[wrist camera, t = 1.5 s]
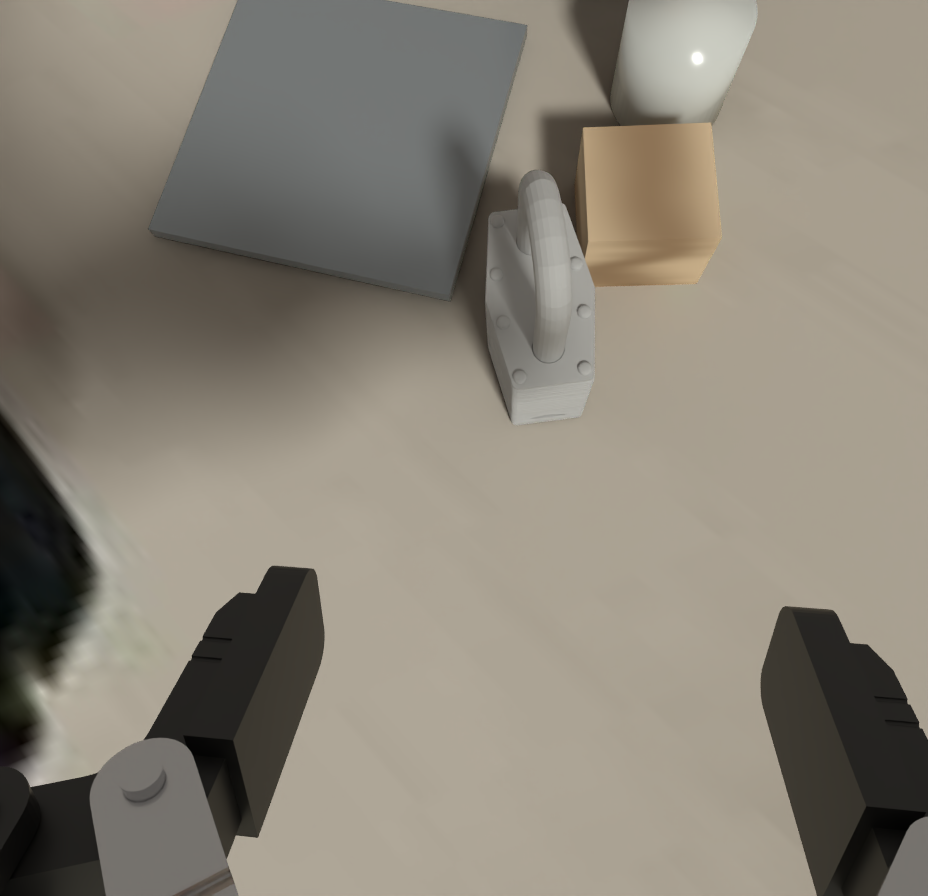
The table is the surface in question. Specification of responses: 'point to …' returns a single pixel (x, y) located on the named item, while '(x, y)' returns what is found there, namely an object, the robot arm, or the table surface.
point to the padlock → (539, 306)
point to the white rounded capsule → (679, 59)
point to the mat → (345, 139)
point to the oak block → (647, 203)
